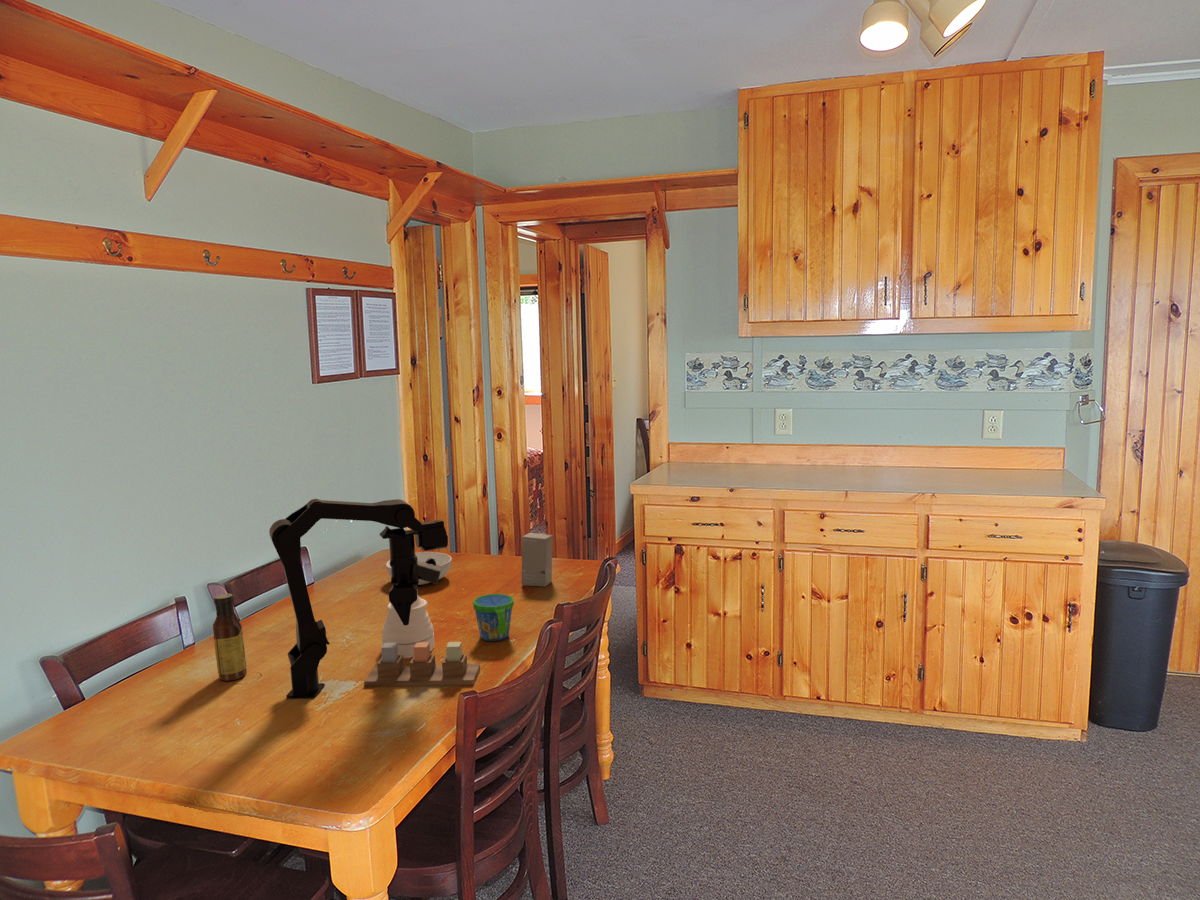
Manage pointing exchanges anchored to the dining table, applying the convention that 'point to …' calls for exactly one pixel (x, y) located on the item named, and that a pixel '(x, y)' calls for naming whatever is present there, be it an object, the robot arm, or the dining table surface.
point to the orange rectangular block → (422, 652)
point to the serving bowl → (440, 558)
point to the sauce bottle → (228, 640)
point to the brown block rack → (423, 673)
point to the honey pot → (408, 628)
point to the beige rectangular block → (454, 651)
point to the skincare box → (536, 559)
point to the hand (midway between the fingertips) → (407, 618)
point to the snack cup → (493, 616)
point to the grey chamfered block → (389, 652)
